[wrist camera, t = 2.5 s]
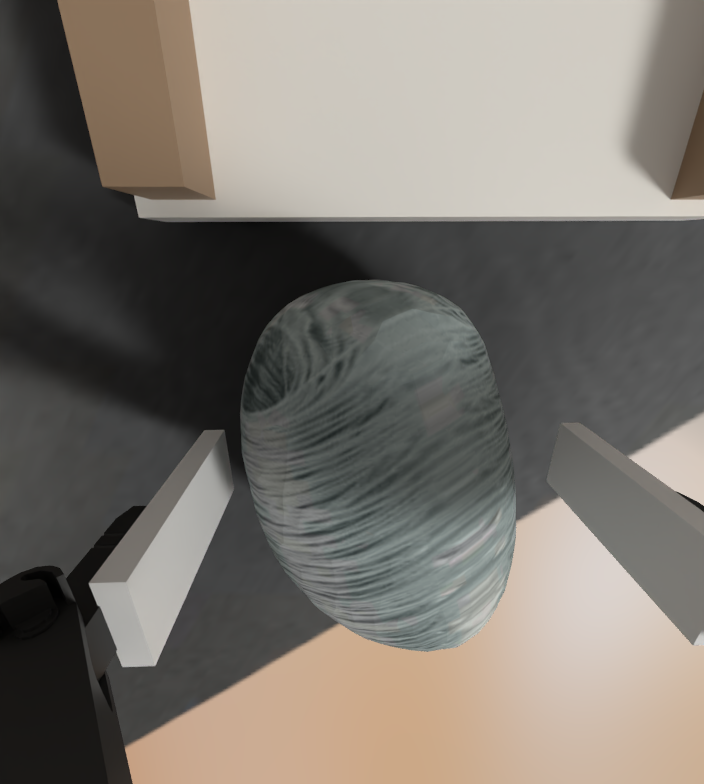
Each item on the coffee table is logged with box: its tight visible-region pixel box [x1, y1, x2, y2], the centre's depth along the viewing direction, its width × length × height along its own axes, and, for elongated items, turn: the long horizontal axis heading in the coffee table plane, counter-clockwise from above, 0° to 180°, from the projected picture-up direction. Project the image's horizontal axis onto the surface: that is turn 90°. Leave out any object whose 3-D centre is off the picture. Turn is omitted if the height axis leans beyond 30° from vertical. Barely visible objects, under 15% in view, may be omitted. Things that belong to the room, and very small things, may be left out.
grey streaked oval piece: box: [240, 280, 516, 652], centre depth 13 cm, size 14×10×10 cm
